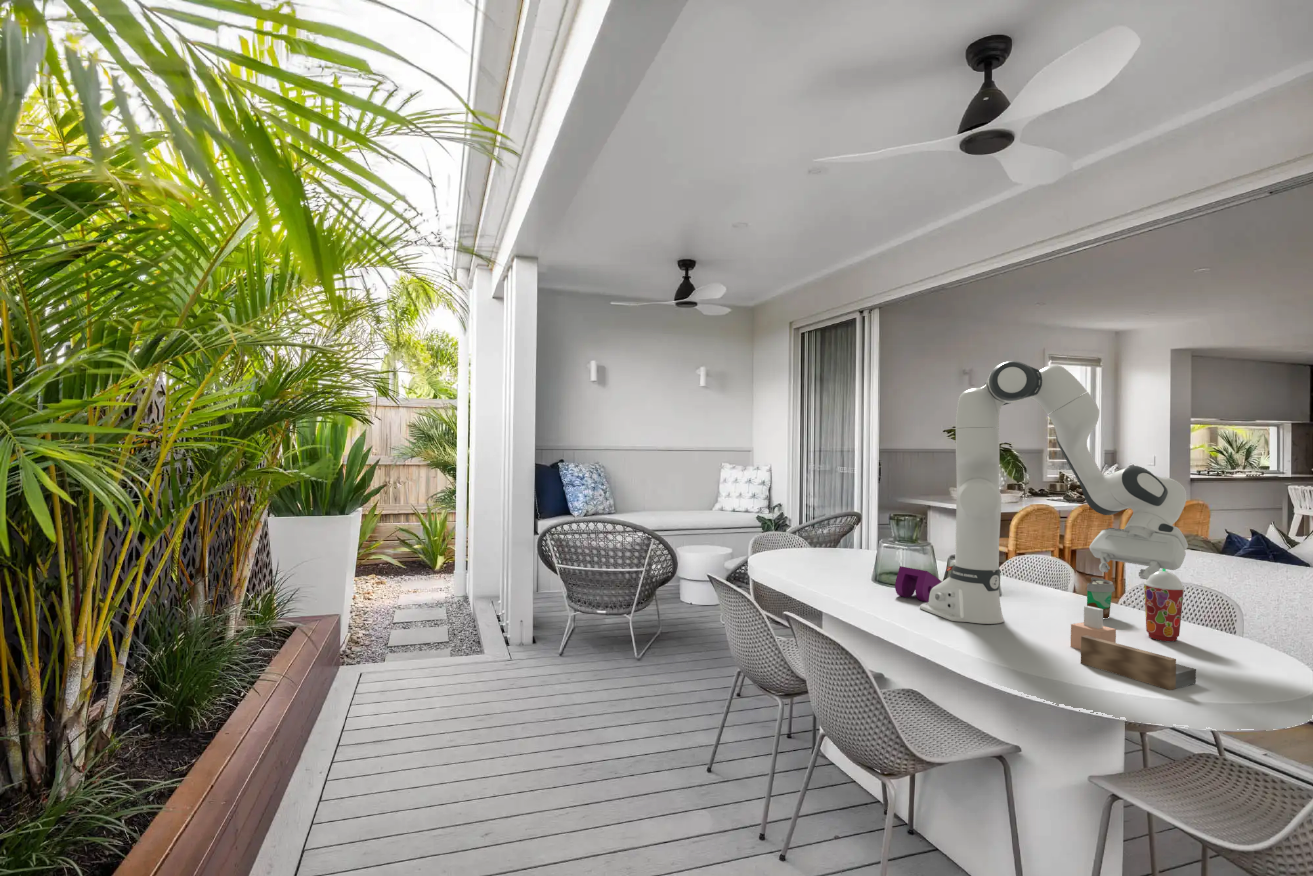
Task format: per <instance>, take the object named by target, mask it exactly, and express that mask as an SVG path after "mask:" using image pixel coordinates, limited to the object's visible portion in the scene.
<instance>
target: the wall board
mask: <svg viewBox="0 0 1313 876" xmlns="http://www.w3.org/2000/svg"><path fill="white" fill-rule="evenodd" d="M1080 664H1082V665H1085V666H1088V667H1092V668H1095V669H1099V670H1101V669H1102V670H1101V671H1105V672H1109V673H1112V674H1116V675H1118V676H1121V677H1124V678H1129V679H1132V680H1135V681H1138V682H1141V683H1144V684H1148V683H1149V685H1152V686H1154V687H1155V686H1156V687H1157V688H1162V689H1164V690H1168V691H1171V690H1176V689H1179V688H1184V687H1187V685H1188V686H1191V685H1190V684H1192V685H1194V684H1193V683H1196V684H1197V669H1196V668H1193V667H1190V666H1186V665H1182V664H1178V663H1177V659H1176V658H1174V657H1170V656H1166V655H1162V654H1160V653H1159V654H1158V653H1155V652H1152V651H1146V650H1143V649H1140V648H1137V647H1133V646H1128V645H1125V644H1120V643H1118V642H1116V643H1114V642H1110V641H1106V640H1102V639H1099V638H1095V637H1091V636H1087V635H1086V636H1081V650H1080Z"/></svg>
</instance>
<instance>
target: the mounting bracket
mask: <svg viewBox="0 0 1313 876" xmlns="http://www.w3.org/2000/svg"><path fill="white" fill-rule="evenodd" d="M941 582H942V580H941V579H939V578H938V577H936V576H935V575H933V574H932V573H931V572H929V571H928V570H924V569H917V568H912V567H907V566H899V568H898V571H897V575H896V579H895V583H894V584H895V585H894V589H895V593H896V594H897V596H899V597H902V598H911V597H912V596H913V595H914V594H915V596H916V599H917V600H919V601H921V602H923V603H927V602H929V595H930V591H931V589H932V588H933V587H934V586H936V585H938V584H939V583H941Z"/></svg>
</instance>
